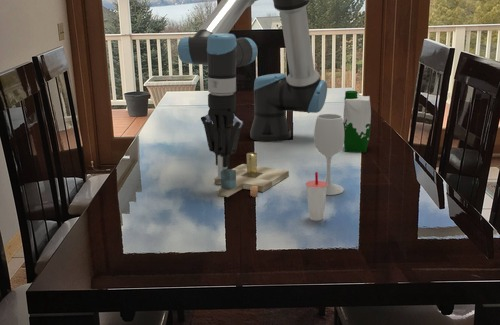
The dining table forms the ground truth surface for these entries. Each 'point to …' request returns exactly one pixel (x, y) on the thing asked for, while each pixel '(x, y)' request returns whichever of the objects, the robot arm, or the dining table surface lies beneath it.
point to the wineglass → (329, 143)
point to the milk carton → (356, 122)
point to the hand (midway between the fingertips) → (222, 177)
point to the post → (252, 165)
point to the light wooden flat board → (248, 179)
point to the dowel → (254, 191)
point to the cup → (316, 198)
